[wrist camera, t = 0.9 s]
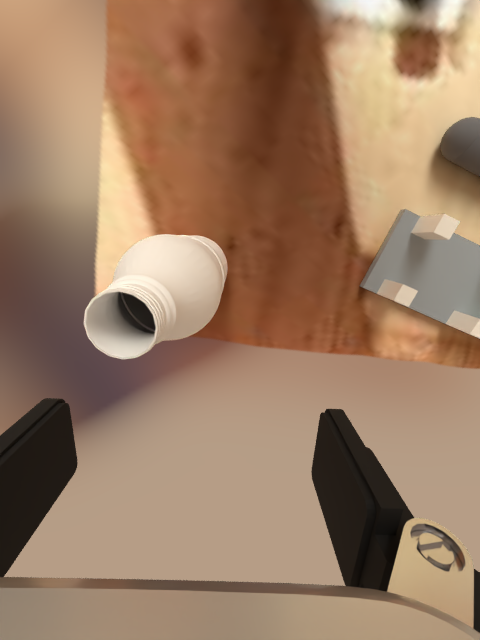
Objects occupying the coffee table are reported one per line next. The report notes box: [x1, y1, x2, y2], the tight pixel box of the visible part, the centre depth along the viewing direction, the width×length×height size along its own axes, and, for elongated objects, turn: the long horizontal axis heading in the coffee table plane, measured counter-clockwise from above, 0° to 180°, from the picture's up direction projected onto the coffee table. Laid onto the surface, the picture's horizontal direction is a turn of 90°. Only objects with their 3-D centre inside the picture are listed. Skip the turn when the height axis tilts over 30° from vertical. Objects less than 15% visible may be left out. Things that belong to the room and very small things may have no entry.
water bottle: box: [84, 234, 227, 359], centre depth 23 cm, size 7×7×25 cm
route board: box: [360, 209, 480, 339], centre depth 34 cm, size 10×20×5 cm, turn 67°
